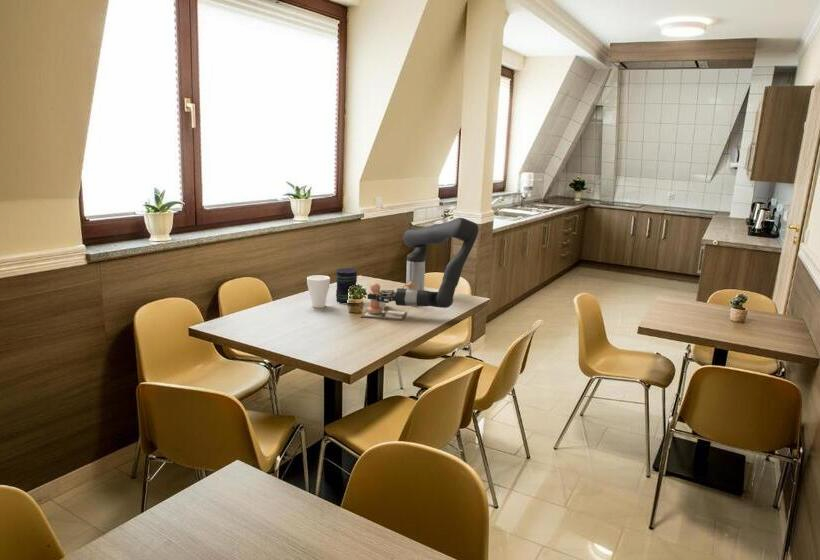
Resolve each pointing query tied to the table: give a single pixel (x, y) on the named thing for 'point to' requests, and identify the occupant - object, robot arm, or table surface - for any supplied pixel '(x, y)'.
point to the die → (382, 304)
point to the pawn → (375, 305)
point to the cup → (318, 289)
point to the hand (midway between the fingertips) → (369, 295)
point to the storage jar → (344, 283)
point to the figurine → (410, 285)
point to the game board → (385, 315)
